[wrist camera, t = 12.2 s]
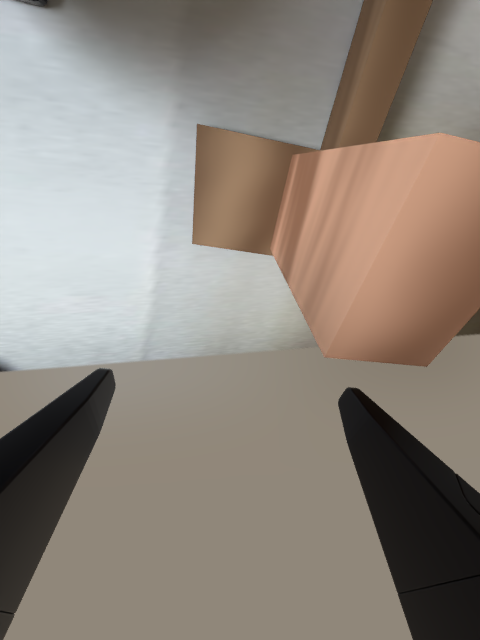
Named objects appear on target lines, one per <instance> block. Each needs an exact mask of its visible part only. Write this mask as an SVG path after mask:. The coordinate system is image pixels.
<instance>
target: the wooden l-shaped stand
mask: <svg viewBox="0 0 480 640" xmlns="http://www.w3.org/2000/svg"><path fill="white" fill-rule="evenodd" d="M432 1H433V0H364V2H363V5H362V9H361V12H360V16H359V19H358V23H357V26H356V29H355V33H354V36H353V40H352V43H351V47H350V50H349V53H348V57H347V60H346V64H345V67H344V70H343V74H342V77H341V81H340V84H339V88H338V91H337V94H336V98H335V101H334V105H333V108H332V112H331V115H330V118H329V122H328V125H327V129H326V132H325V136H324V139H323V142H322V146H321V149H320V150H316V149H311V148H306V147H302V146H297V145H292V144H288V143H283V142H279V141H274V140H269V139H265V138H260V137H256V136H251V135H246V134H242V133H237V132H232V131H228V130H223V129H219V128H214V127H209V126H205V125H200V124H197V140H196V164H195V189H194V214H193V239H192V244H197V245H204V246H211V247H218V248H224V249H231V250H238V251H245V252H251V253H258V254H265V255H272V256H274V258H275V260H276V262H277V264H278V266H279V268H280V270H281V272H282V274H283V276H284V278H285V280H286V282H287V284H288V286H289V288H290V290H291V292H292V294H293V296H294V298H295V300H296V302H297V304H298V306H299V308H300V310H301V312H302V314H303V316H304V318H305V320H306V322H307V324H308V326H309V328H310V330H311V332H312V334H313V336H314V338H315V340H316V342H317V344H318V346H319V348H320V349H321V352H322V353H323V355H324V357H326V358H337V359H348V360H360V361H371V362H381V363H393V364H403V365H415V366H426V367H427V366H428V365H429V364H430V363H431V362H432V360H433V359H434V358H435V357H436V356H437V355H438V354H439V353H440V352H441V350H442V349H443V348H444V347H445V346H446V345H447V344H448V343H449V342H450V341H451V340H452V338H453V337H454V336H455V335H456V334H457V333H458V332H459V331H460V330H461V328H462V327H463V326H464V325H465V324H466V323H467V322H468V321H469V320H470V318H471V317H472V316H473V315H474V314H475V313H476V312H477V311H478V310H479V309H480V142H476V141H472V140H468V139H464V138H460V137H456V136H452V135H448V134H444V133H435V134H429V135H422V136H415V137H409V138H402V139H395V140H389V141H382V142H377V139H378V137H379V134H380V132H381V129H382V127H383V124H384V122H385V119H386V116H387V114H388V111H389V109H390V106H391V104H392V101H393V99H394V96H395V94H396V91H397V89H398V86H399V84H400V81H401V79H402V76H403V74H404V71H405V69H406V66H407V64H408V61H409V59H410V56H411V54H412V51H413V49H414V46H415V44H416V41H417V39H418V36H419V34H420V31H421V29H422V26H423V24H424V21H425V19H426V16H427V14H428V11H429V9H430V6H431V4H432Z"/></svg>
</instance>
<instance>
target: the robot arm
mask: <svg viewBox="0 0 480 640" xmlns="http://www.w3.org/2000/svg"><path fill="white" fill-rule="evenodd" d="M19 1H23V2H27V3H30V4H34V5H38V6H44V5H45V4H46V3H47V0H19ZM114 391H115V380H114V375H113V371H112V370H111V369H105V368H99V369H97V370H95V371H94V372H92V373H91V374H90V375H88V376H87V377H86V378H84V379H83V380H81V381H80V382H79V383H77V384H76V385H74V386H73V387H72V388H70V389H69V390H68V391H66V392H65V393H63V394H62V395H60V396H59V397H58V398H56V399H55V400H53V401H52V402H51V403H49V404H48V405H47V406H45V407H44V408H42V409H41V410H40V411H38V412H37V413H35V414H34V415H33V416H31V417H30V418H28V419H27V420H26V421H24V422H23V423H22V424H20V425H19V426H17V427H16V428H15V429H13V430H12V431H10V432H9V433H8V434H6V435H5V436H3V437H2V438H1V439H0V640H3V639H4V637H5V635H6V632H7V630H8V628H9V626H10V624H11V622H12V620H13V618H14V613H15V612H16V611H17V609H18V606H19V604H20V602H21V600H22V598H23V596H24V593H25V592H26V589H27V587H28V585H29V583H30V581H31V579H32V576H33V574H34V572H35V570H36V568H37V566H38V564H39V562H40V560H41V557H42V555H43V553H44V551H45V549H46V546H47V545H48V543H49V540H50V538H51V536H52V534H53V532H54V530H55V527H56V526H57V523H58V521H59V519H60V517H61V514H62V513H63V510H64V509H65V506H66V504H67V502H68V500H69V498H70V496H71V494H72V491H73V489H74V487H75V485H76V483H77V481H78V479H79V477H80V474H81V472H82V470H83V468H84V466H85V464H86V462H87V460H88V457H89V455H90V453H91V451H92V449H93V447H94V445H95V442H96V440H97V438H98V436H99V434H100V431H101V428H102V426H103V423H104V420H105V417H106V414H107V411H108V408H109V405H110V403H111V400H112V397H113V394H114ZM338 406H339V410H340V414H341V419H342V422H343V427H344V432H345V436H346V440H347V443H348V446H349V450H350V453H351V456H352V459H353V462H354V465H355V468H356V471H357V474H358V476H359V479H360V483H361V486H362V488H363V491H364V495H365V498H366V501H367V504H368V506H369V509H370V512H371V515H372V518H373V521H374V524H375V527H376V530H377V533H378V536H379V539H380V542H381V545H382V548H383V551H384V554H385V557H386V560H387V563H388V566H389V569H390V572H391V575H392V578H393V581H394V584H395V587H396V590H397V592H398V596H399V599H400V602H401V605H402V608H403V611H404V614H405V617H406V620H407V623H408V626H409V629H410V632H411V635H412V638H413V640H480V493H479V492H477V491H476V490H475V489H474V488H473V487H471V486H470V485H469V484H468V483H467V482H466V481H464V480H463V479H462V478H461V477H460V476H459V475H458V474H455V473H454V471H453V470H452V469H450V468H449V467H448V466H447V465H446V464H445V463H444V462H443V461H441V460H440V459H439V458H438V457H437V456H435V455H434V454H433V453H432V452H431V451H430V450H429V449H428V448H426V447H425V446H424V445H423V444H422V443H420V442H419V441H418V440H417V439H416V438H415V437H414V436H413V435H411V434H410V433H409V432H408V431H407V430H405V429H404V428H403V427H402V426H401V425H400V424H399V423H397V422H396V421H395V420H394V419H393V418H392V417H391V416H389V415H388V414H387V413H386V412H385V411H384V410H383V409H381V408H380V407H379V406H378V405H377V404H376V403H375V402H373V401H372V400H371V399H370V398H369V397H368V396H366V395H365V394H364V393H363V392H362V391H361V390H359V389H357V388H350V387H348V388H347V389H346V390H345V391H344V392H343V394H342V395H341V397H340V398H339V401H338Z"/></svg>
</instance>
